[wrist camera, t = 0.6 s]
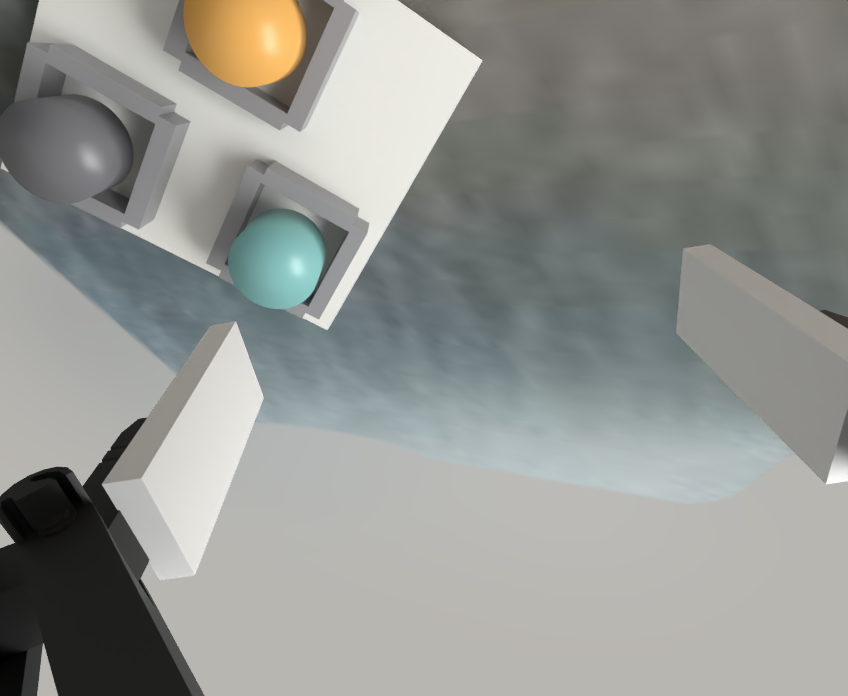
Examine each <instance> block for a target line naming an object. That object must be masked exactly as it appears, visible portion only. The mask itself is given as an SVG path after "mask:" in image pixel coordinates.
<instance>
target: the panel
mask: <svg viewBox="0 0 848 696" xmlns="http://www.w3.org/2000/svg"><path fill="white" fill-rule="evenodd" d="M184 1H185V0H39V3H38V8H37V12H36V16H35V21H34V25H33V30H32V34H31V38H30V42H27V46H26V51H25V55H24V59H23V64H22V68H21V73H20V77H19V82H18V86H17V90H16V95H15V99H14V103H15V102H18V101H20V100H24V99H31V98H40V97H49V96H58V95H68V94H77V95H83V96H87V97H90V98H93V99H95V100H97V101H99V102H101V103H102V104H104V105H105V106H107V107H108V108H109V109H110V110H112V111H113V112H114V113H115V114H116V115H117V117H118V118H119V119H120V120H121V121H122V123H123V124H124V126H125V128H126V129H127V131H128V133H129V136H130V138H131V142H132V146H133V164H132V168H131V170H130V172H129V174H128V175H127V177H126V178H125V179H124V180H123V181H122V182H121V183H119V184H118V185H116V186H114V187H112V188H110V189H107V190H105V191H103V192H101V193H98V194H96V195H94V196H92V197H89V198H87V199H85V200H83V201H80V202H77V203H71V205H73V206H75V207H77V208H79V209H81V210H83V211H85V212H87V213H89V214H92V215H94V216H96V217H98V218H100V219H102V220H104V221H106V222H108V223H110V224H112V225H114V226H116V227H118V228H122V229H124V230H126V231H128V232H131V233H133V234H135V235H137V236H139V237H141V238H143V239H145V240H147V241H149V242H151V243H153V244H155V245H157V246H159V247H161V248H163V249H165V250H167V251H169V252H171V253H173V254H175V255H177V256H179V257H181V258H183V259H185V260H187V261H189V262H191V263H193V264H195V265H197V266H199V267H201V268H203V269H205V270H207V271H209V272H211V273H213V274H215V275H217V276H219V278H221V279H223V280H225V281H227V282H229V283H231V284H233V285H235V284H234V282H233V280H232V278H231V275H230V272H229V268H228V256H229V251H230V249H231V246H232V244H233V242H234V241H235V240H236V238H237V237H238V236H239V235H240V234H241V233H242V232H243V231H244V229H245V228H246V227H247V226H248V225H249V224H250V223H251V222H252V221H253V220H254V219H255V218H256V217H257V216H258V215H260V214H261V213H263V212H265V211H268V210H272V209H280V208H282V209H290V210H294V211H297V212H299V213H301V214H303V215H305V216H306V217H308V218H309V219H310V220H312V221H313V222H314V223H315V224H316V226H317V227H318V228H319V230H320V231H321V233H322V235H323V238H324V240H325V244H326V259H325V263H324V266H323V268H322V271H321V274H320V276H319V279H318V281H317V284H316V286H315V289H314V290H313V292H312V294H311V295H310V296H309V297H308V298H307V299H306V300H305V301H303V302H302V303H300V304H298V305H296V306H294V307H290V308H286V309H284V310H286V311H288V312H290V313H292V314H294V315H296V316H298V317H300V318H304V319H306V320H308V321H310V322H312V323H314V324H316V325H318V326H320V327H322V328H324V329H326V330H328V329H329V327H330V325H331V323H332V322H333V320H334V318H335V316H336V315H337V313H338V311H339V309H340V308H341V306H342V304H343V302H344V301H345V299H346V297H347V295H348V294H349V292H350V290H351V289H352V287H353V285H354V283H355V282H356V280H357V278H358V276H359V275H360V273H361V271H362V269H363V268H364V266H365V264H366V262H367V261H368V259H369V257H370V255H371V254H372V252H373V250H374V249H375V247H376V245H377V243H378V242H379V240H380V238H381V236H382V235H383V233H384V231H385V229H386V228H387V226H388V224H389V222H390V221H391V219H392V217H393V215H394V214H395V212H396V210H397V208H398V207H399V205H400V203H401V202H402V200H403V198H404V196H405V195H406V193H407V191H408V189H409V188H410V186H411V184H412V182H413V181H414V179H415V177H416V175H417V174H418V172H419V170H420V168H421V167H422V165H423V163H424V161H425V160H426V158H427V156H428V155H429V153H430V151H431V149H432V148H433V146H434V144H435V142H436V141H437V139H438V137H439V135H440V134H441V132H442V130H443V128H444V127H445V125H446V123H447V121H448V120H449V118H450V116H451V115H452V113H453V111H454V109H455V108H456V106H457V104H458V102H459V101H460V99H461V97H462V95H463V94H464V92H465V90H466V88H467V87H468V85H469V83H470V81H471V80H472V78H473V76H474V74H475V73H476V71H477V69H478V68H479V66H480V64H481V62H482V60H481V59H480V58H478V57H477V56H475V55H474V54H473V53H471V52H470V51H468V50H467V49H466V48H464V47H463V46H461V45H460V44H458V43H457V42H456V41H454V40H453V39H451V38H450V37H449V36H447V35H446V34H444V33H443V32H442V31H440V30H439V29H437V28H436V27H434V26H433V25H432V24H430V23H429V22H427V21H426V20H425V19H423V18H422V17H420V16H419V15H418V14H416V13H415V12H413V11H412V10H411V9H409V8H408V7H406V6H405V5H403V4H402V3H401V2H399V1H398V0H297V1H298V3H299V5H300V7H301V9H302V12H303V15H304V18H305V22H306V28H307V44H306V49H305V53H304V56H303V59H302V61H301V63H300V64H299V66H298V67H297V69H296V70H295V71H294V72H293V73H292V74H291V75H290V76H288V77H287V78H285V79H284V80H282V81H279V82H276V83H272V84H267V85H262V86H257V87H239V86H235V85H232V84H229V83H227V82H225V81H223V80H221V79H219V78H218V77H216V76H215V75H213V74H212V73H211V72H210V71H209V70H207V68H206V67H205V66H204V65H203V64H202V63H201V62H200V60H199V59H198V58H197V56H196V55H195V53H194V51H193V49H192V47H191V45H190V43H189V40H188V38H187V35H186V31H185V26H184V18H183V8H184ZM1 161H2V159H1ZM1 169H3V170H5V171H7V172H9V171H8V170H7V168H6V167H5V165H4V163H3V161H2V165H1Z"/></svg>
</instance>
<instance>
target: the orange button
mask: <svg viewBox="0 0 848 696" xmlns="http://www.w3.org/2000/svg"><path fill="white" fill-rule="evenodd" d="M183 18H184V26H185V31H186V35H187V38H188V40H189V43H190V45H191V47H192V49H193V51H194V53H195V55H196V56H197V58H198V59H199V60H200V62H201V63H202V64H203V65H204V66H205V67H206V68H207V70H209V71H210V72H211V73H212V74H213V75H215V76H216V77H218V78H219V79H221V80H223V81H225V82H227V83H229V84H232V85H235V86H239V87H257V86H262V85H267V84H272V83H276V82H279V81H282V80H284V79H285V78H287V77H288V76H290V75H291V74H292V73H293V72H294V71H295V70H296V69H297V67H298V66H299V64H300V63H301V61H302V59H303V56H304V53H305V49H306V44H307V28H306V22H305V18H304V15H303V12H302V9H301V7H300V5H299V3H298V1H297V0H185V1H184V8H183Z"/></svg>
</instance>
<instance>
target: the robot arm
mask: <svg viewBox="0 0 848 696" xmlns="http://www.w3.org/2000/svg"><path fill="white" fill-rule="evenodd" d="M676 333H677V334H678V335H679V336H680V337H681V338H682V340H683V341H684V342H685V343H686V344H687V345H688V346H689V347H690V348H691V349H692V350H693V351H694V352H695V353H696V354H697V355H698V356H699V357H700V358H701V359H702V360H703V361H704V362H705V363H706V364H707V365H708V366H709V367H710V368H711V369H712V370H713V371H714V372H715V373H716V374H717V375H718V376H719V377H720V378H721V379H722V380H723V381H724V382H725V383H726V384H727V385H728V386H729V387H730V388H731V389H732V390H733V391H734V392H735V393H736V394H737V395H738V396H739V397H740V398H741V399H742V400H743V401H744V402H745V403H746V404H747V405H748V406H749V407H750V408H751V409H752V410H753V411H754V412H755V413H756V414H757V415H758V416H759V417H760V418H761V419H762V420H763V421H764V422H765V423H766V424H767V425H768V426H769V427H770V428H771V429H772V430H773V431H774V432H775V433H776V434H777V435H778V436H779V437H780V438H781V439H782V440H783V441H784V442H785V443H786V444H787V445H788V446H789V447H790V448H791V449H792V450H793V451H794V453H795V454H796V455H797V456H798V457H799V458H800V459H801V460H803V461H804V463H805V464H806V465H808V467H809V468H810V469H812V471H814V473H815V474H816V475H817V476H818V477H819V478H820V479H821V480H822V481H823V482H824V483H825V484H831V483H838V482H845V481H848V317H845V316H842V315H839V314H835V313H832V312H829V311H826V310H822V311H818V310H816V309H815V308H813V307H812V306H810V305H808V304H807V303H805V302H803V301H802V300H800V299H799V298H797V297H795V296H794V295H792V294H790V293H789V292H787V291H785V290H784V289H782V288H781V287H779V286H777V285H776V284H774V283H772V282H771V281H769V280H768V279H766V278H764V277H763V276H761V275H759V274H758V273H756V272H755V271H753V270H751V269H750V268H748V267H746V266H745V265H743V264H742V263H740V262H738V261H737V260H735V259H733V258H732V257H730V256H729V255H727V254H725V253H724V252H722V251H720V250H719V249H717V248H716V247H714V246H712V245H711V244H709V245H703V246H697V247H690V248H684V249H683V258H682V270H681V282H680V294H679V305H678V317H677V329H676ZM263 398H264V397H263V394H262V391H261V389H260V386H259V383H258V381H257V378H256V375H255V372H254V370H253V367H252V364H251V361H250V359H249V356H248V353H247V351H246V348H245V345H244V342H243V340H242V337H241V334H240V332H239V329H238V326H237V323H236V321H235V322H228V323H222V324H216V325H210V327H209V328H208V330H207V331H206V333H205V334H204V336H203V337H202V339H201V340H200V341H199V343H198V344H197V346H196V347H195V349H194V350H193V352H192V353H191V355H190V356H189V358H188V359H187V360H186V362H185V363H184V365H183V366H182V368H181V369H180V371H179V372H178V374H177V375H176V377H175V378H174V379H173V381H172V382H171V384H170V385H169V387H168V388H167V390H166V391H165V393H164V394H163V396H162V397H161V398H160V400H159V401H158V403H157V404H156V406H155V407H154V409H153V410H152V412H151V413H150V415H149V416H148V417H147V418H141V419H138V420H137V421H136V422H134V423H133V424H132V425H131V426H129V427H128V428H127V429H126V430H124V431H123V432H122V433H121V434H120V436H119V437H118V438H117V440H116V441H115V443H114V444H113V445H112V447H111V450H110V451H108V452H107V454H106V455H105V456H104V458H103V459H102V463H99V465H98V466H97V467H96V469H95V470H94V471H93V473H92V474H91V475H90V477H89V478H88V480H87V481H86V482H85V484H84V485H83V487H82V485H81V484H80V482H79V481H78V479H77V478H76V476H75V474H74V473H73V471H71V470H70V469H69V468H67V467H54V468H49V469H45V470H42V471H39V472H37V473H34V474H32V475H29V476H27V477H26V478H24V479H22V480H21V481H19V482H17V483H16V484H14V485H13V486H11V487H10V488H9V489H8V490H7V491H5V492H4V493H3V494H2V495H1V496H0V524H1V525H2V526H3V527H4V529H5V530H6V531H7V533H8V534H9V535H10V536H11V538H12V539H13V540H14V542H15V543H14V544H11V545H8V546H5V547H3V548H0V696H37V690H38V681H39V672H40V663H41V654H42V646H43V643H44V645H45V649H46V653H47V656H48V660H49V663H50V667H51V671H52V674H53V678H54V682H55V685H56V689H57V693H58V696H204V694H203V692H202V690H201V688H200V686H199V685H198V683H197V681H196V679H195V677H194V675H193V673H192V672H191V670H190V668H189V666H188V665H187V662H186V661H185V659H184V657H183V655H182V653H181V652H180V649H179V647H178V646H177V644H176V642H175V640H174V639H173V636H172V635H171V633H170V631H169V629H168V627H167V625H166V623H165V622H164V620H163V618H162V616H161V614H160V612H159V610H158V609H157V607H156V605H155V603H154V601H153V599H152V597H151V595H150V594H149V592H148V590H147V588H146V587H145V585H144V583H143V582H142V580H141V579H140V578H141V576H142V574H143V572H144V570H145V568H146V566H147V564H148V562H149V563H150V565H151V566H152V568H153V570H154V571H155V573H156V575H157V576H158V578H159V580H166V579H172V578H179V577H186V576H193V575H195V574H196V571H197V569H198V566H199V563H200V561H201V558H202V556H203V553H204V551H205V548H206V546H207V543H208V540H209V538H210V535H211V533H212V530H213V527H214V525H215V522H216V520H217V517H218V515H219V512H220V509H221V507H222V504H223V502H224V499H225V496H226V494H227V491H228V489H229V486H230V484H231V481H232V478H233V476H234V473H235V471H236V468H237V465H238V463H239V460H240V458H241V455H242V452H243V450H244V447H245V445H246V442H247V439H248V437H249V434H250V432H251V429H252V427H253V424H254V422H255V419H256V416H257V414H258V411H259V409H260V406H261V404H262V401H263Z"/></svg>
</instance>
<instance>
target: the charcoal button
mask: <svg viewBox="0 0 848 696" xmlns="http://www.w3.org/2000/svg"><path fill="white" fill-rule="evenodd" d="M0 157H1V159H2V161H3V163H4V165H5V167H6V168H7V170H8V171H9V173H10V174H11V175H12V176H13V178H14V179H15V180H16V181H17V182H18V183H19V184H20V185H22V186H23V187H24V188H25V189H26V190H28V191H29V192H31V193H32V194H34V195H36V196H38V197H40V198H42V199H44V200H47V201H50V202H54V203H61V204H71V203H77V202H80V201H83V200H85V199H87V198H89V197H92V196H94V195H96V194H98V193H101V192H103V191H105V190H107V189H110V188H112V187H114V186H116V185H118V184H119V183H121V182H122V181H123V180H124V179H125V178H126V177H127V175H128V174H129V172H130V170H131V168H132V164H133V146H132V142H131V138H130V136H129V133H128V131H127V129H126V128H125V126H124V124H123V123H122V121H121V120H120V119H119V118H118V117H117V115H116V114H115V113H114V112H113V111H112V110H110V109H109V108H108V107H107V106H105V105H104V104H102V103H101V102H99V101H97V100H95V99H93V98H90V97H87V96H83V95H77V94H68V95H58V96H49V97H40V98H31V99H24V100H20V101H18V102H15V103H13V104H12V105H10V106H9V107H8V108H6V109H5V110H4V112H3V113H2V114H1V116H0Z"/></svg>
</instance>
